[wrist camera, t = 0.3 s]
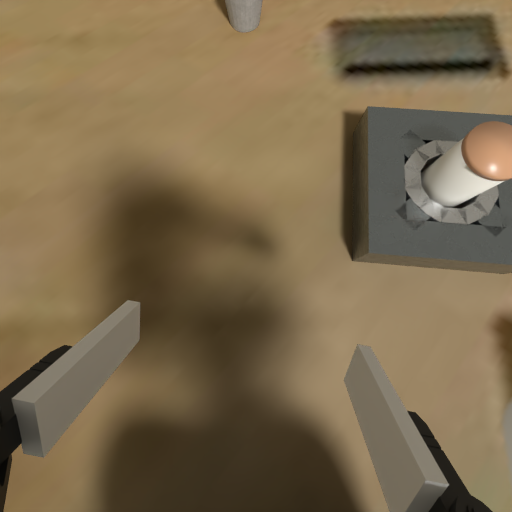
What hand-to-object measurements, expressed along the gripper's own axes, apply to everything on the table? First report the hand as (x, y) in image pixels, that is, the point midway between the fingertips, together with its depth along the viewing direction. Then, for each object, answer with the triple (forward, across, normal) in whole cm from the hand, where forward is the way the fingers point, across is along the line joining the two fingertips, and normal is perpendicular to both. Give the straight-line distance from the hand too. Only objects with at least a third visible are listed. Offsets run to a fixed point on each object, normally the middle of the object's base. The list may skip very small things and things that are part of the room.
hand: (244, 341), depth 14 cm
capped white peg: (+25, -22, -10) cm, 34 cm away
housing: (+25, -22, -10) cm, 34 cm away
